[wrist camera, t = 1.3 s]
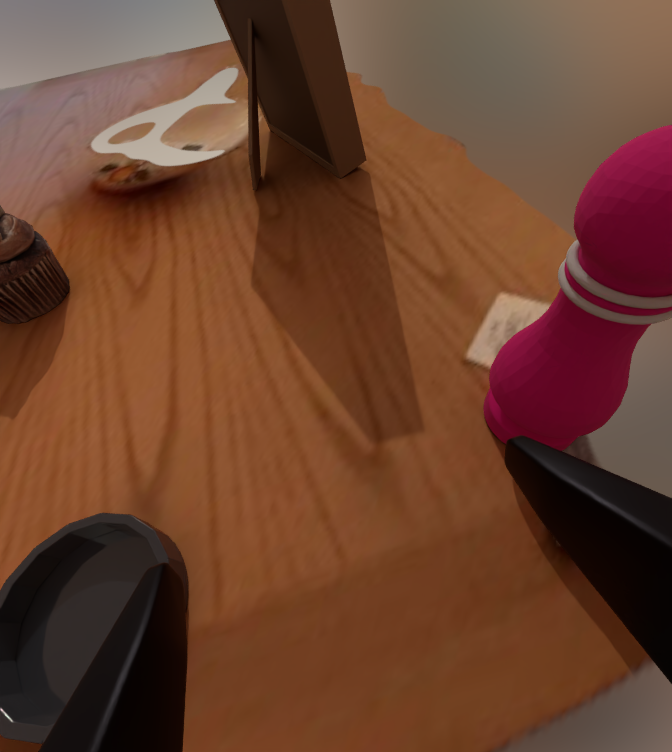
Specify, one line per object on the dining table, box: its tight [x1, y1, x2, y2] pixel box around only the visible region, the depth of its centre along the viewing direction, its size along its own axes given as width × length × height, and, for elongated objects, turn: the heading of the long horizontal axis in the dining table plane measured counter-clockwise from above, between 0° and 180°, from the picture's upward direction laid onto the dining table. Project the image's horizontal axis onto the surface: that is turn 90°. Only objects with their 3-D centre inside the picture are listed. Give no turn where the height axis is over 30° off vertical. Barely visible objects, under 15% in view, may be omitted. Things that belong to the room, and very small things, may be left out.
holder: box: [0, 513, 188, 744], centre depth 21 cm, size 10×10×2 cm
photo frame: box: [214, 0, 366, 190], centre depth 44 cm, size 15×22×25 cm
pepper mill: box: [484, 125, 672, 451], centre depth 18 cm, size 7×7×20 cm
